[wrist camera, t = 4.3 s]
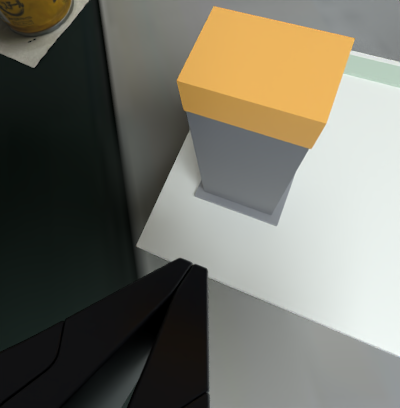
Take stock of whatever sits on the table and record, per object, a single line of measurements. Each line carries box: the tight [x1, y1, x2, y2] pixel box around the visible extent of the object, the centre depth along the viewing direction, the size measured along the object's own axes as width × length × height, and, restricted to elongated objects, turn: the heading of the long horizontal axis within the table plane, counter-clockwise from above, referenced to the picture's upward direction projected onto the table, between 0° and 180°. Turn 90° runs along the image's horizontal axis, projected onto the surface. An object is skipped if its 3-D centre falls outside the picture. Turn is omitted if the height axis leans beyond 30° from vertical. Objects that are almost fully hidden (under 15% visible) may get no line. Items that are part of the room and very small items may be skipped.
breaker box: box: [136, 51, 400, 358], centre depth 16 cm, size 15×23×3 cm, turn 68°
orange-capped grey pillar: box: [177, 6, 355, 215], centre depth 11 cm, size 2×4×8 cm, turn 68°
